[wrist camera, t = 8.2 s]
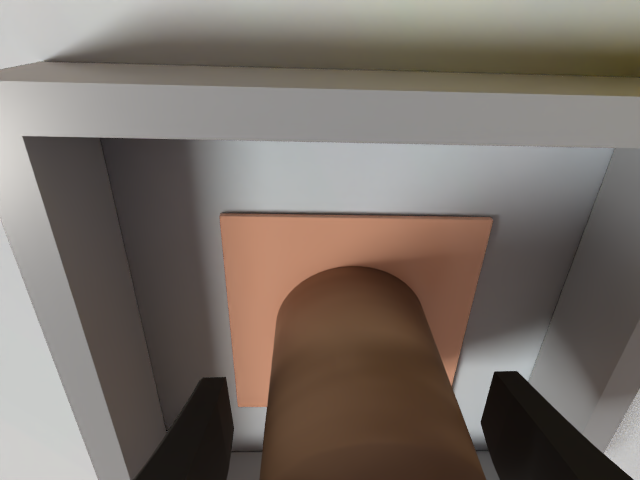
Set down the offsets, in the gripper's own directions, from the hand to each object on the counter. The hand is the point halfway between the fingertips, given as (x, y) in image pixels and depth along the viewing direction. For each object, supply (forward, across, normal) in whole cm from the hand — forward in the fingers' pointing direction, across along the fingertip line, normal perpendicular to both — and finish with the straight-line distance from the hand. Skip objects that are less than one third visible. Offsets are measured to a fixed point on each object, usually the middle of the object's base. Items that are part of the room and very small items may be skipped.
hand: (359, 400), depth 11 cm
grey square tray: (+3, 0, 0) cm, 3 cm away
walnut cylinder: (+3, 0, 0) cm, 3 cm away
